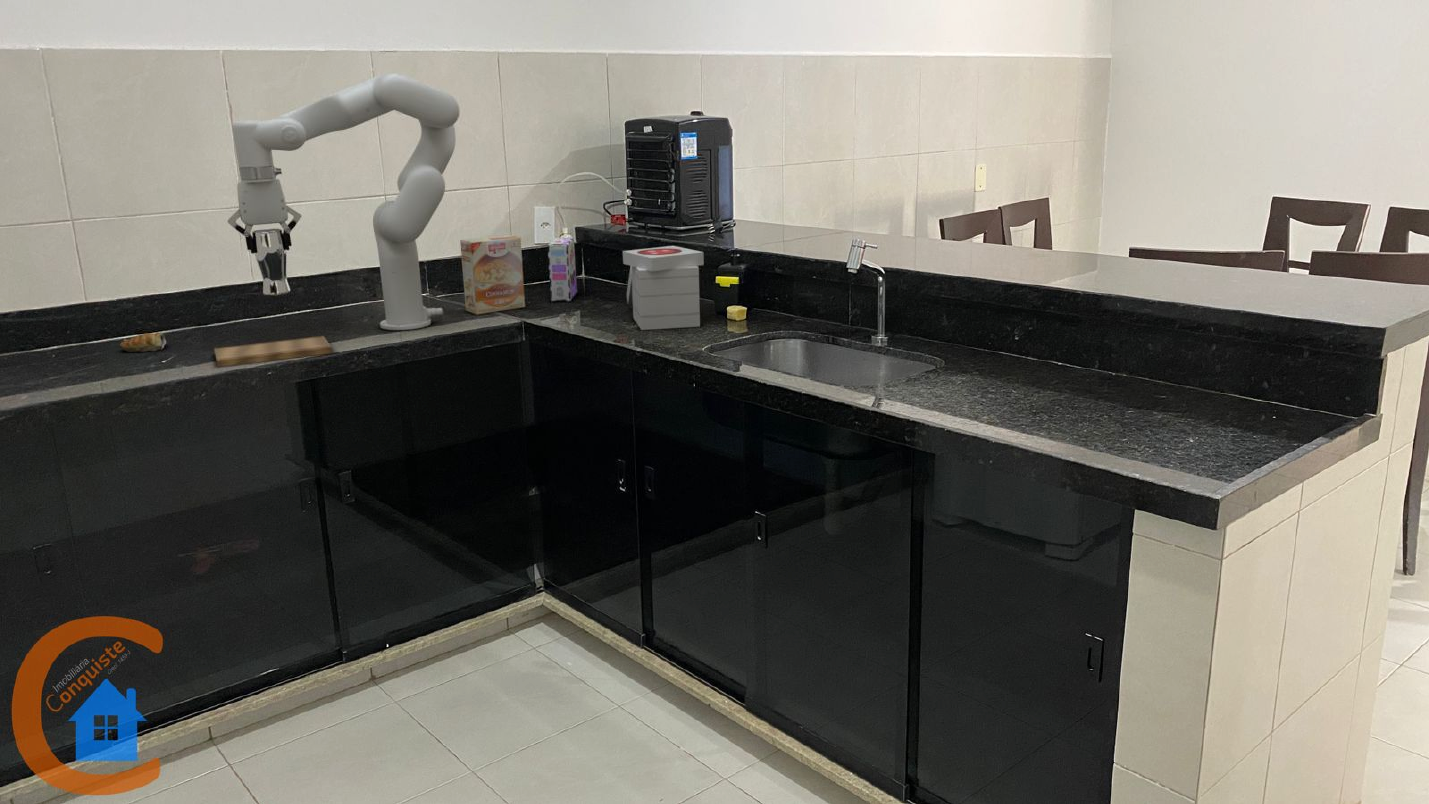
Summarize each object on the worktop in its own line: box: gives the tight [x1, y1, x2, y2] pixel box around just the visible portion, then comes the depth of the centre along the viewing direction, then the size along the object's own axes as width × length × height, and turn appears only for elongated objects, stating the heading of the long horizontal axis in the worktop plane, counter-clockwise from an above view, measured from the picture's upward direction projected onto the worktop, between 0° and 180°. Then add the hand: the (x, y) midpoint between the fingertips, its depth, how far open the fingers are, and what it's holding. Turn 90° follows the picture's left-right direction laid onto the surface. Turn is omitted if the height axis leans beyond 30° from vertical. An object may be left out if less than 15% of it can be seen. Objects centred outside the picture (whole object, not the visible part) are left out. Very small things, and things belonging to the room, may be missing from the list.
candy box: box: [547, 237, 578, 302], centre depth 293 cm, size 14×6×16 cm, turn 179°
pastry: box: [119, 331, 167, 353], centre depth 242 cm, size 9×7×4 cm
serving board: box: [213, 335, 333, 368], centre depth 235 cm, size 24×13×2 cm, turn 118°
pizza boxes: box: [622, 245, 705, 331], centre depth 263 cm, size 19×30×18 cm, turn 12°
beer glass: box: [251, 228, 291, 296], centre depth 243 cm, size 7×7×15 cm
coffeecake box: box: [459, 234, 526, 316], centre depth 278 cm, size 15×7×20 cm, turn 129°
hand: (270, 250), depth 242 cm, fingers closed on beer glass, 7 cm apart
